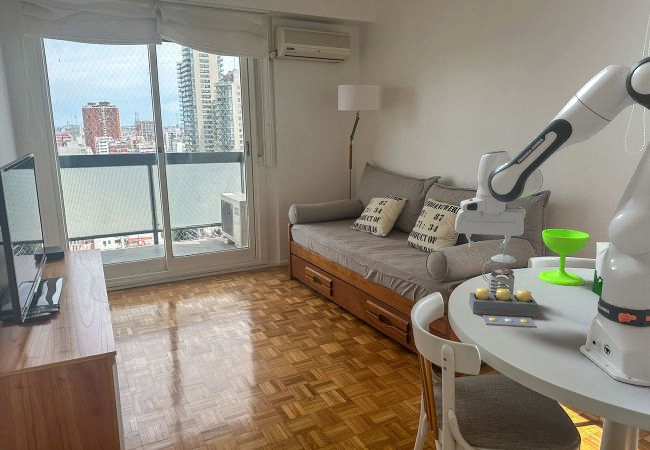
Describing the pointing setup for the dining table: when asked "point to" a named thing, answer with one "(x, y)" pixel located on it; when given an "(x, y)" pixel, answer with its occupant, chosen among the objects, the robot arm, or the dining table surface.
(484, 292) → the left button
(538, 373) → the dining table surface
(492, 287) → the french press
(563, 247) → the wineglass
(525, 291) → the right button
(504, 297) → the middle button
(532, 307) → the button board
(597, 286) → the milk carton
